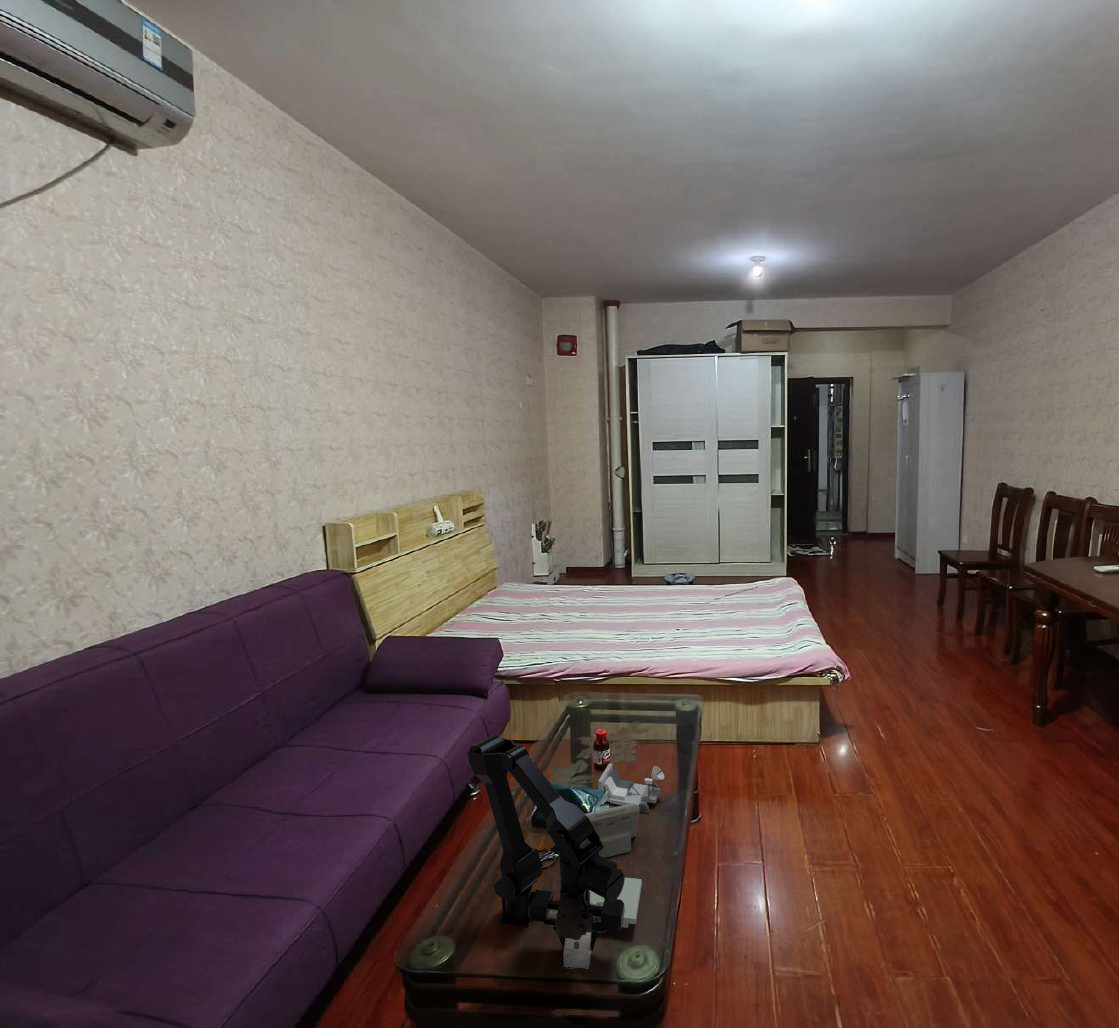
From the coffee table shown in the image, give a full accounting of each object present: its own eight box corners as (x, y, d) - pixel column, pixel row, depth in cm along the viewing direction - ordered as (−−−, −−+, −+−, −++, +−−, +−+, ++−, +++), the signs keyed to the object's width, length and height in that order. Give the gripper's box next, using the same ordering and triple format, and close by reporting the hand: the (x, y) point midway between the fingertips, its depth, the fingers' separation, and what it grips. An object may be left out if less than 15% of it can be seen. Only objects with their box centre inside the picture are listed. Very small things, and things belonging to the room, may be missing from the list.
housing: (564, 969, 129) (563, 949, 129) (568, 937, 137) (567, 918, 137) (589, 970, 129) (588, 950, 128) (592, 938, 137) (591, 919, 136)
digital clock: (637, 832, 170) (636, 794, 169) (644, 855, 162) (643, 815, 160) (575, 839, 169) (573, 800, 168) (579, 862, 160) (577, 821, 159)
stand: (579, 929, 139) (578, 912, 138) (589, 889, 151) (588, 873, 150) (636, 936, 136) (635, 919, 136) (642, 895, 148) (641, 879, 147)
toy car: (666, 761, 187) (657, 783, 176) (667, 794, 188) (658, 817, 177) (606, 752, 193) (593, 772, 183) (607, 783, 195) (594, 805, 184)
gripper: (518, 900, 125) (522, 974, 127) (615, 912, 121) (618, 988, 123) (533, 862, 136) (537, 930, 138) (623, 871, 132) (626, 942, 134)
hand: (578, 947), depth 133 cm, fingers open, 5 cm apart
